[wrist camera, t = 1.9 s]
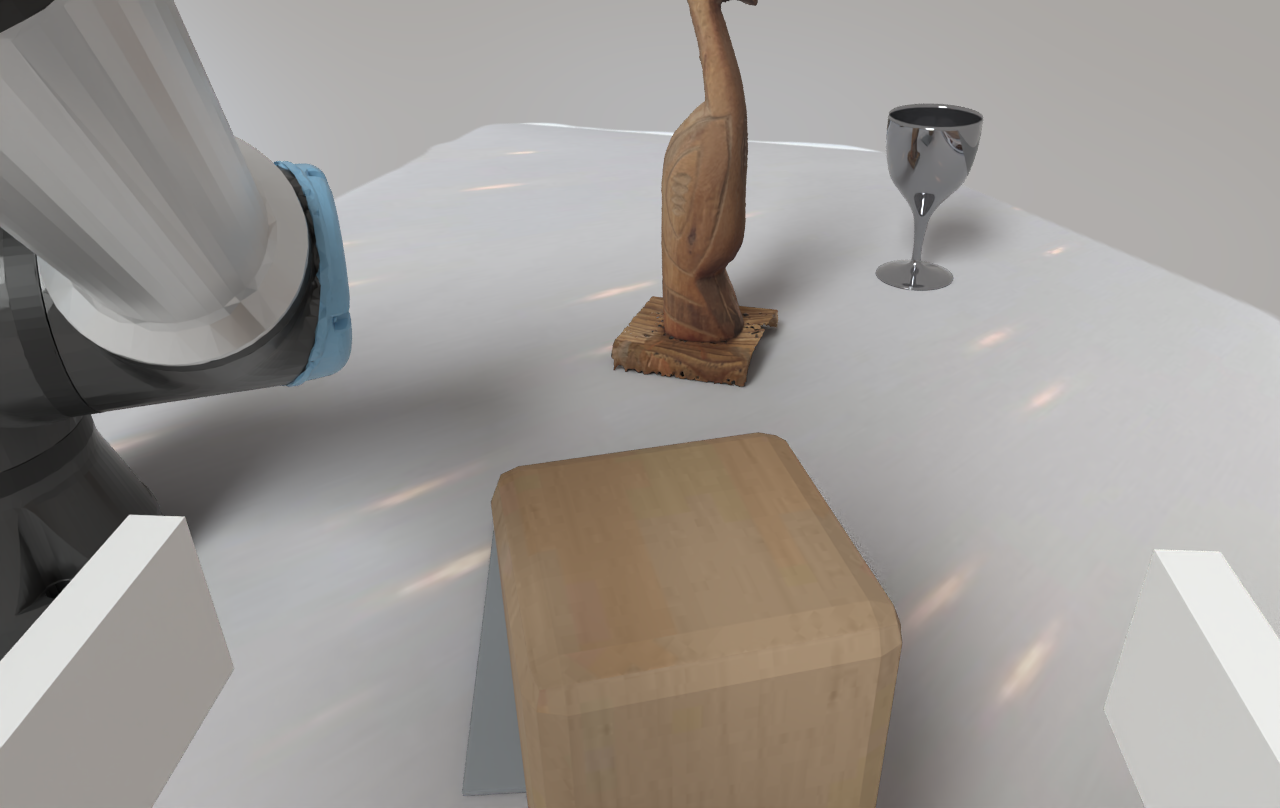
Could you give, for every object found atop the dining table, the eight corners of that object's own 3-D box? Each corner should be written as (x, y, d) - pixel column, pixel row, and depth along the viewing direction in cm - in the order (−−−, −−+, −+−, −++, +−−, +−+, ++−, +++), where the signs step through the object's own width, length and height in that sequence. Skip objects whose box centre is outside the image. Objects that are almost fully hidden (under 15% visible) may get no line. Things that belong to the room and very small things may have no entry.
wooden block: (758, 802, 43) (783, 416, 32) (849, 1040, 34) (922, 620, 24) (533, 850, 41) (485, 458, 31) (571, 1113, 33) (521, 694, 22)
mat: (495, 521, 60) (495, 517, 60) (781, 506, 61) (782, 502, 61) (463, 795, 43) (462, 791, 43) (861, 771, 44) (862, 767, 44)
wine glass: (911, 299, 87) (934, 132, 80) (853, 269, 93) (869, 111, 86) (976, 280, 90) (1003, 118, 83) (916, 253, 96) (937, 99, 89)
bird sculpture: (755, 393, 74) (795, -71, 58) (609, 372, 77) (607, -78, 60) (777, 331, 83) (817, -85, 67) (646, 313, 86) (653, -90, 70)
